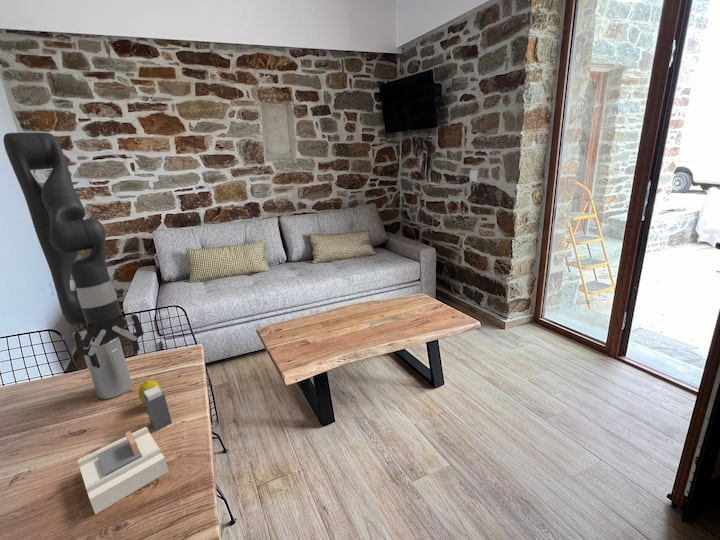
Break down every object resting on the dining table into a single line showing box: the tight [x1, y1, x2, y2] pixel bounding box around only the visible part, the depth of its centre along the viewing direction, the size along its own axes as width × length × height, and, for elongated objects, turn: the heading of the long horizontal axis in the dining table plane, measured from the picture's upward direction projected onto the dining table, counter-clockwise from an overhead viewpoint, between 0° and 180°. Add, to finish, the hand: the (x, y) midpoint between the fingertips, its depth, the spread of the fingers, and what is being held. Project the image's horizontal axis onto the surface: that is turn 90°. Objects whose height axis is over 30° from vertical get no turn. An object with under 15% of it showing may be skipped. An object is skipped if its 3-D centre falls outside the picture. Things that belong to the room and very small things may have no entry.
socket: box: [77, 426, 169, 515], centre depth 83 cm, size 14×14×5 cm
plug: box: [143, 386, 173, 432], centre depth 97 cm, size 4×4×10 cm
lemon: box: [138, 379, 162, 405], centre depth 105 cm, size 6×6×8 cm
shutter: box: [98, 430, 142, 476], centre depth 82 cm, size 7×7×4 cm
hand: (117, 359), depth 96 cm, fingers open, 8 cm apart
